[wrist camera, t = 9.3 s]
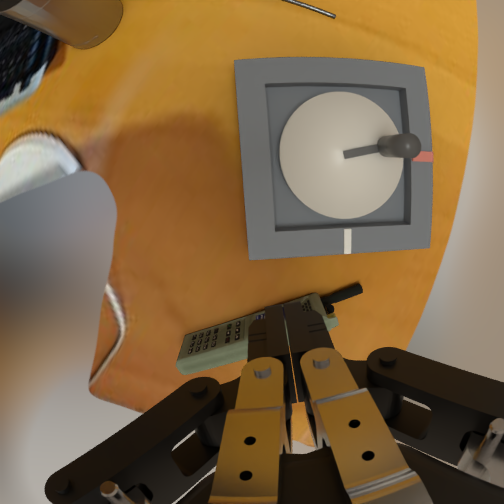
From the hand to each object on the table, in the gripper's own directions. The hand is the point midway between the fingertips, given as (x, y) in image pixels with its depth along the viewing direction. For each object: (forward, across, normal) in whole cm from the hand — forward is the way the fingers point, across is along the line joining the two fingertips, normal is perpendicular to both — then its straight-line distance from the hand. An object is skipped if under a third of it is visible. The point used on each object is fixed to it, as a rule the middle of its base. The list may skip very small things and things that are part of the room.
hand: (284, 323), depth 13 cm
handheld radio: (+26, +2, +14) cm, 30 cm away
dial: (+24, -9, -5) cm, 26 cm away
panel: (+26, -10, -5) cm, 28 cm away
